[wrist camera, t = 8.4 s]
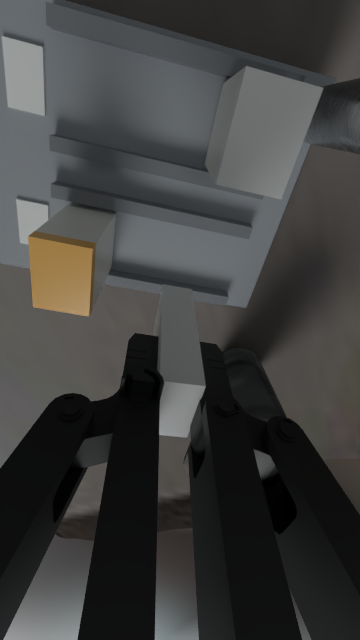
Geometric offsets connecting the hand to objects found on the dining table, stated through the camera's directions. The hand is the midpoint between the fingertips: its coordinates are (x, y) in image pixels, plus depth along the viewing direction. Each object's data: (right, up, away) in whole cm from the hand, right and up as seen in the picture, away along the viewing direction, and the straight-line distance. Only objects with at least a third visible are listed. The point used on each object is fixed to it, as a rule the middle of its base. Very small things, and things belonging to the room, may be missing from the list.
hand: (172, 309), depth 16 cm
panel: (-2, +10, +6) cm, 12 cm away
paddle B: (+4, +10, +2) cm, 11 cm away
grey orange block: (-6, +5, +5) cm, 10 cm away
